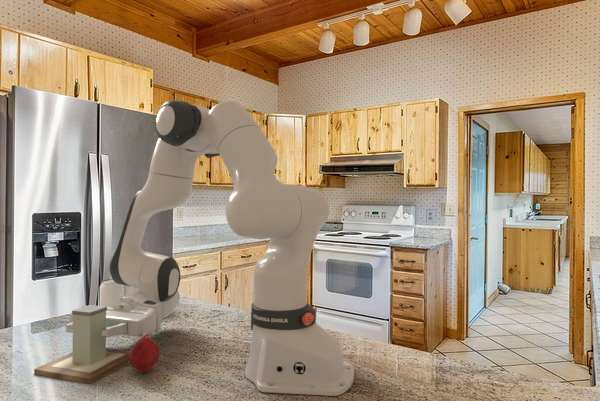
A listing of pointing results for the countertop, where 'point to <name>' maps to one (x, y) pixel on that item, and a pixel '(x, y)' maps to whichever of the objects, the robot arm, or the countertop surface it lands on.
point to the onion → (144, 354)
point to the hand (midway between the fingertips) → (86, 331)
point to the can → (110, 292)
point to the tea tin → (89, 334)
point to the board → (84, 367)
